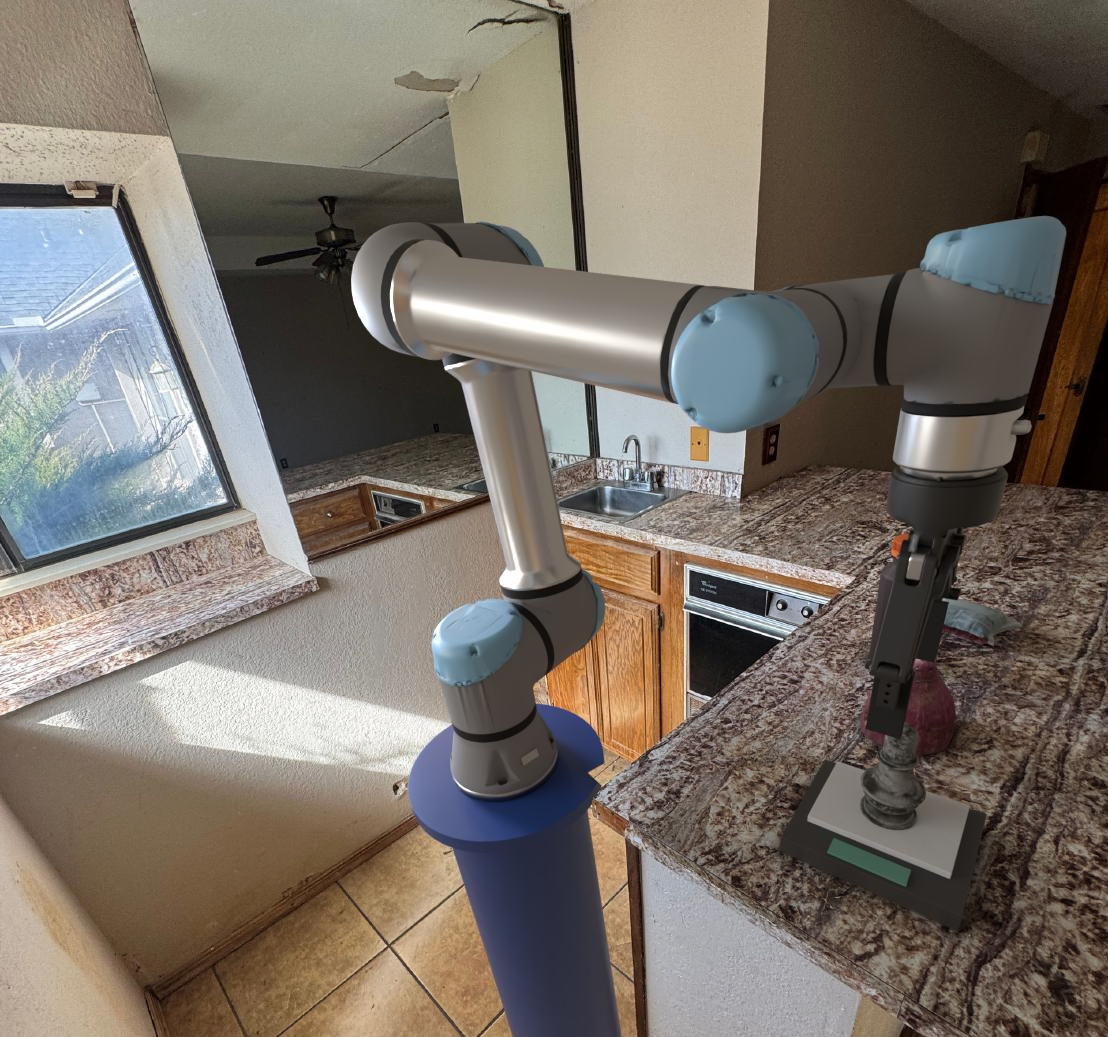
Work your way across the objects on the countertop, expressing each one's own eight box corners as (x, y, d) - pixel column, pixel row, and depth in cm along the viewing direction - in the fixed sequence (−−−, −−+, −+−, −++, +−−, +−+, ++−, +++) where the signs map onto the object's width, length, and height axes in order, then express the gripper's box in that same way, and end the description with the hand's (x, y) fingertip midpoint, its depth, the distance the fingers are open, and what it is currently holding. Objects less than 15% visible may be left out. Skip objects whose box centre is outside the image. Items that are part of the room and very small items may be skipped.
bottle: (908, 649, 90) (929, 528, 81) (927, 672, 84) (953, 546, 75) (861, 651, 91) (878, 533, 82) (877, 675, 85) (897, 550, 76)
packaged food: (941, 611, 98) (946, 585, 96) (1020, 635, 89) (1028, 608, 87) (910, 628, 95) (915, 602, 93) (988, 656, 86) (995, 628, 83)
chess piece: (932, 813, 59) (954, 721, 53) (899, 842, 57) (918, 749, 51) (877, 782, 64) (892, 694, 58) (844, 807, 61) (857, 718, 56)
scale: (779, 851, 61) (781, 831, 60) (823, 772, 70) (825, 754, 69) (957, 931, 51) (964, 910, 50) (982, 828, 60) (988, 808, 59)
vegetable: (943, 780, 70) (991, 707, 60) (851, 752, 75) (881, 679, 64) (949, 715, 76) (993, 639, 66) (864, 693, 81) (893, 617, 70)
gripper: (982, 524, 33) (917, 789, 44) (1028, 430, 49) (973, 641, 59) (845, 511, 38) (815, 754, 48) (928, 429, 54) (892, 625, 64)
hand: (902, 692), depth 54 cm, fingers open, 13 cm apart
